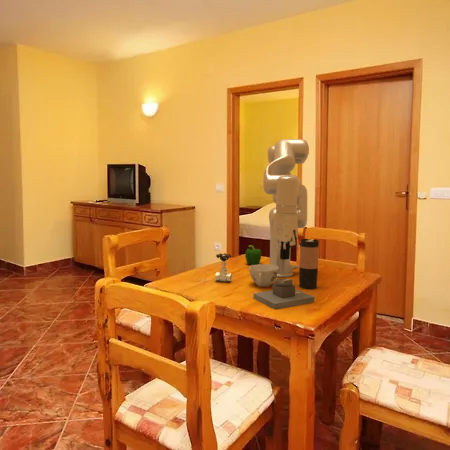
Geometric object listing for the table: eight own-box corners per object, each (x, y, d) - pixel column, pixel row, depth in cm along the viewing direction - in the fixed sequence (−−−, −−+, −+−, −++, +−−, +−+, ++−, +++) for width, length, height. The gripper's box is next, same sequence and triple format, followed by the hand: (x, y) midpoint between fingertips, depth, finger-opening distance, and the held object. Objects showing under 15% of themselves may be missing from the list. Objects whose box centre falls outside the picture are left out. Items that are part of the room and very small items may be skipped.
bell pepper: (264, 264, 215) (264, 245, 213) (255, 266, 208) (256, 247, 207) (251, 261, 220) (251, 243, 219) (242, 264, 213) (242, 245, 212)
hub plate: (291, 292, 165) (291, 278, 164) (314, 302, 153) (315, 287, 152) (253, 298, 157) (253, 284, 156) (274, 309, 144) (275, 294, 144)
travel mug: (306, 290, 168) (308, 242, 165) (294, 285, 175) (296, 239, 172) (321, 288, 171) (323, 240, 169) (309, 283, 178) (311, 238, 176)
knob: (281, 298, 150) (281, 283, 149) (271, 293, 156) (271, 279, 155) (296, 295, 153) (296, 281, 153) (285, 291, 159) (285, 276, 158)
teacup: (252, 280, 183) (252, 262, 182) (280, 282, 180) (281, 264, 178) (244, 289, 169) (244, 270, 168) (274, 292, 165) (274, 272, 164)
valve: (229, 284, 176) (229, 256, 174) (214, 283, 177) (214, 256, 176) (232, 280, 182) (232, 253, 181) (217, 279, 184) (218, 253, 182)
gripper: (266, 208, 155) (265, 256, 158) (290, 212, 142) (288, 264, 145) (282, 207, 159) (281, 254, 161) (307, 211, 146) (305, 262, 148)
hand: (284, 258), depth 153 cm, fingers closed
